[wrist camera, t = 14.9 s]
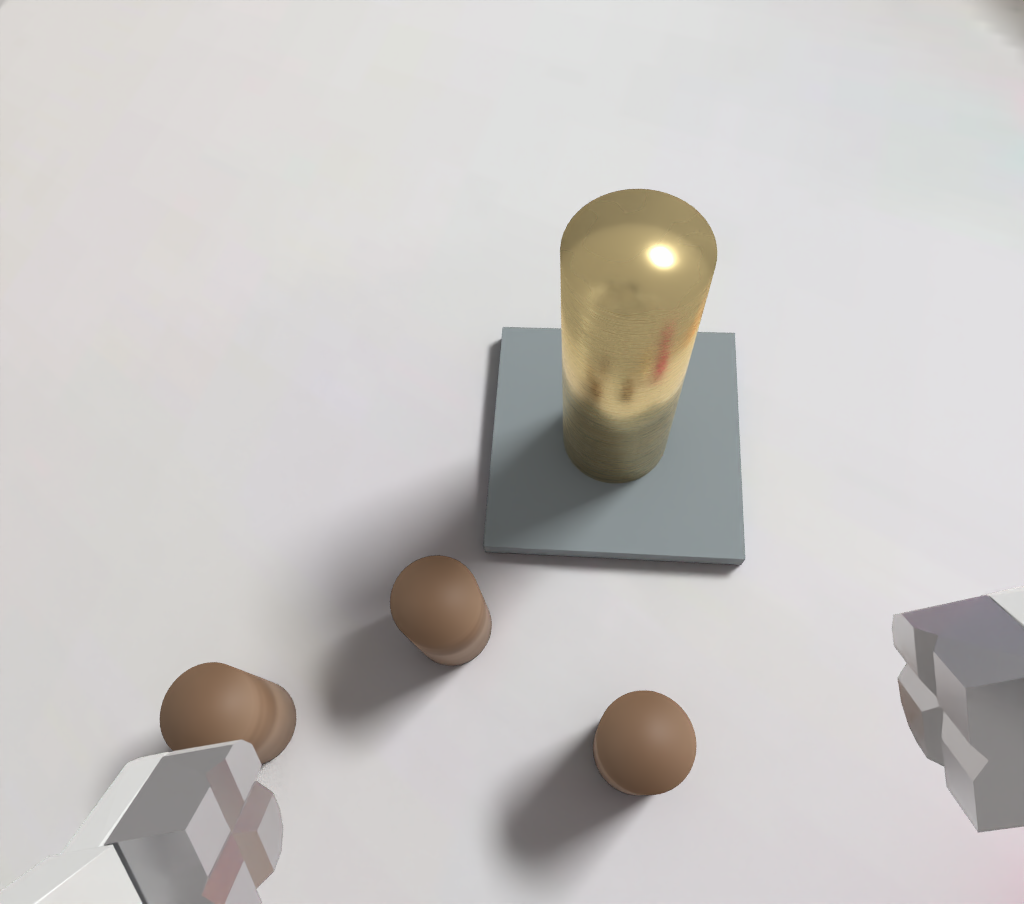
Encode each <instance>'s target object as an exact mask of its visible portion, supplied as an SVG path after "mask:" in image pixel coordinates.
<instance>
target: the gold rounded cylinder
mask: <svg viewBox="0 0 1024 904" xmlns="http://www.w3.org/2000/svg"><path fill="white" fill-rule="evenodd" d="M716 261H717V245H716V240H715V237H714V234H713V232H712V230H711V227H710V226H709V224H708V223H707V221H706V220H705V219H704V217H703V216H702V215H701V214H700V213H699V212H698V211H697V210H696V209H695V208H693V207H692V206H691V205H689V204H688V203H686V202H685V201H683V200H681V199H679V198H677V197H675V196H672V195H670V194H667V193H663V192H660V191H655V190H649V189H627V190H620V191H616V192H612V193H609V194H606V195H603V196H601V197H599V198H597V199H595V200H593V201H591V202H590V203H588V204H587V205H585V206H584V207H583V208H581V209H580V210H579V211H578V212H577V213H576V214H575V215H574V216H573V218H572V219H571V220H570V222H569V223H568V225H567V227H566V229H565V231H564V233H563V237H562V240H561V247H560V266H561V329H562V392H563V441H564V446H565V450H566V452H567V454H568V457H569V458H570V460H571V461H572V463H573V464H574V465H575V466H576V467H577V468H578V469H579V470H580V471H581V472H582V473H584V474H585V475H587V476H589V477H591V478H593V479H595V480H598V481H601V482H606V483H626V482H630V481H634V480H636V479H639V478H641V477H643V476H644V475H646V474H647V473H649V472H650V471H651V470H652V469H653V468H654V467H655V466H656V465H657V464H658V462H659V461H660V459H661V458H662V456H663V453H664V451H665V447H666V444H667V440H668V436H669V433H670V429H671V426H672V422H673V418H674V415H675V411H676V408H677V404H678V400H679V397H680V393H681V389H682V386H683V382H684V379H685V375H686V371H687V368H688V364H689V360H690V357H691V353H692V350H693V346H694V342H695V339H696V335H697V332H698V328H699V324H700V321H701V317H702V313H703V310H704V306H705V303H706V299H707V295H708V292H709V288H710V284H711V281H712V277H713V274H714V270H715V266H716Z"/></svg>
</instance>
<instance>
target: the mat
mask: <svg viewBox="0 0 1024 904" xmlns="http://www.w3.org/2000/svg"><path fill="white" fill-rule="evenodd" d="M483 547H484V550H485V552H497V553H517V554H536V555H556V556H576V557H595V558H615V559H635V560H654V561H674V562H694V563H713V564H733V565H741V564H742V563H743V562H744V560H745V544H744V522H743V501H742V479H741V458H740V436H739V414H738V393H737V371H736V350H735V333H716V332H697V335H696V339H695V342H694V346H693V350H692V353H691V357H690V360H689V364H688V368H687V371H686V375H685V379H684V382H683V386H682V389H681V393H680V397H679V400H678V404H677V408H676V411H675V415H674V418H673V422H672V426H671V429H670V433H669V436H668V440H667V444H666V447H665V451H664V453H663V456H662V458H661V459H660V461H659V462H658V464H657V465H656V466H655V467H654V468H653V469H652V470H651V471H650V472H649V473H647V474H646V475H644V476H643V477H641V478H639V479H636V480H634V481H630V482H626V483H606V482H601V481H598V480H595V479H593V478H591V477H589V476H587V475H585V474H584V473H582V472H581V471H580V470H579V469H578V468H577V467H576V466H575V465H574V464H573V463H572V461H571V460H570V458H569V457H568V454H567V452H566V450H565V446H564V441H563V392H562V329H558V328H519V327H503V329H502V341H501V352H500V363H499V374H498V386H497V397H496V408H495V419H494V430H493V442H492V453H491V464H490V475H489V486H488V498H487V509H486V520H485V531H484V543H483Z"/></svg>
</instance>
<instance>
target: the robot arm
mask: <svg viewBox="0 0 1024 904" xmlns="http://www.w3.org/2000/svg"><path fill="white" fill-rule="evenodd" d="M892 633H893V642H894V646H895V648H896V649H897V650H898V652H899V653H900V654H901V656H902V657H903V658H904V660H905V661H906V662H907V663H906V665H905V667H904V668H903V670H902V671H901V673H900V675H899V676H898V684H899V691H900V697H901V703H902V706H903V709H904V713H905V716H906V719H907V722H908V725H909V727H910V729H911V731H912V734H913V736H914V738H915V740H916V742H917V743H918V745H919V746H920V748H921V749H922V751H923V753H924V754H925V756H926V757H927V758H928V759H930V760H932V761H934V762H936V763H938V764H940V765H942V766H944V768H945V777H946V786H947V788H948V790H949V791H950V792H951V794H952V795H953V797H954V798H955V800H956V801H957V803H958V804H959V806H960V807H961V808H962V810H963V811H964V813H965V814H966V816H967V817H968V819H969V820H970V821H971V823H972V824H973V826H974V827H975V829H976V830H977V832H985V831H993V830H1000V829H1008V828H1015V827H1023V826H1024V586H1020V587H1016V588H1012V589H1007V590H1003V591H998V592H994V593H990V594H985V595H981V596H979V597H975V598H970V599H965V600H961V601H956V602H951V603H947V604H942V605H937V606H932V607H928V608H923V609H918V610H914V611H909V612H904V613H900V614H895V615H893V623H892ZM261 766H262V764H261V762H260V760H259V758H258V756H257V754H256V751H255V749H254V747H253V745H252V744H251V743H248V742H246V741H244V740H242V739H241V740H235V741H230V742H224V743H218V744H212V745H206V746H200V747H194V748H189V749H183V750H177V751H173V752H164V753H160V754H155V755H150V756H145V757H140V758H137V759H135V760H132V761H130V762H128V763H127V764H126V765H125V766H124V768H123V769H122V770H121V772H120V773H119V775H118V776H117V777H116V779H115V780H114V781H113V783H112V784H111V786H110V787H109V788H108V790H107V791H106V792H105V794H104V795H103V796H102V798H101V799H100V801H99V802H98V803H97V805H96V806H95V807H94V809H93V810H92V812H91V813H90V814H89V816H88V817H87V818H86V820H85V821H84V822H83V824H82V825H81V827H80V828H79V829H78V831H77V832H76V833H75V835H74V836H73V837H72V839H71V840H70V842H69V843H68V844H67V846H66V847H65V848H64V850H63V851H62V853H61V854H57V855H51V856H48V857H47V858H45V859H44V860H43V861H41V862H40V863H39V864H37V865H36V866H34V867H33V868H32V869H30V870H29V871H27V872H26V873H25V874H23V875H22V876H21V877H19V878H18V879H16V880H15V881H14V882H12V883H11V884H9V885H8V886H7V887H5V888H4V889H2V890H1V891H0V904H262V901H261V898H260V896H259V894H258V892H257V888H258V887H259V886H260V885H261V884H262V883H263V882H264V881H265V880H266V879H267V878H268V877H269V876H270V875H271V874H272V873H273V872H274V870H275V868H276V865H277V862H278V859H279V857H280V854H281V850H282V837H283V823H282V818H281V812H280V808H279V805H278V803H277V800H276V798H275V795H274V793H273V792H272V791H270V790H269V789H267V788H266V787H265V786H263V785H262V784H260V783H259V782H257V778H258V775H259V772H260V769H261Z"/></svg>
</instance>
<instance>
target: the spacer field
mask: <svg viewBox="0 0 1024 904" xmlns="http://www.w3.org/2000/svg"><path fill="white" fill-rule="evenodd" d="M390 609H391V614H392V617H393V619H394V621H395V623H396V625H397V627H398V628H399V629H400V630H401V632H402V633H403V634H404V635H405V636H406V637H407V638H408V639H409V640H410V641H411V642H412V643H413V644H415V645H416V646H417V647H418V648H419V649H420V650H421V651H422V652H423V653H424V654H425V655H426V656H427V657H428V658H429V659H431V660H432V661H434V662H436V663H439V664H442V665H448V666H455V665H461V664H464V663H466V662H469V661H471V660H472V659H474V658H475V657H476V656H478V655H479V654H480V653H481V652H482V650H483V649H484V648H485V646H486V644H487V643H488V640H489V638H490V634H491V627H492V622H491V616H490V612H489V610H488V607H487V605H486V603H485V600H484V598H483V596H482V593H481V591H480V589H479V587H478V584H477V582H476V580H475V578H474V576H473V574H472V573H471V572H470V570H469V569H468V568H467V567H466V566H465V565H464V564H462V563H461V562H459V561H457V560H456V559H453V558H450V557H447V556H440V555H439V556H428V557H424V558H421V559H419V560H416V561H415V562H413V563H411V564H410V565H409V566H407V567H406V568H405V569H404V570H403V571H402V572H401V573H400V575H399V576H398V578H397V579H396V581H395V583H394V585H393V588H392V591H391V596H390ZM295 725H296V710H295V706H294V703H293V700H292V698H291V697H290V695H289V694H288V692H287V691H286V690H285V689H284V688H282V687H281V686H279V685H278V684H275V683H273V682H270V681H268V680H265V679H263V678H260V677H257V676H255V675H252V674H250V673H247V672H245V671H242V670H239V669H237V668H234V667H232V666H229V665H226V664H223V663H217V662H210V663H204V664H200V665H197V666H195V667H192V668H191V669H189V670H187V671H186V672H184V673H183V674H182V675H180V676H179V677H178V678H177V679H176V680H175V681H174V683H173V684H172V685H171V687H170V688H169V690H168V691H167V693H166V695H165V697H164V700H163V703H162V706H161V711H160V727H161V732H162V735H163V738H164V740H165V741H166V743H167V745H168V746H169V747H170V748H171V749H172V750H173V751H177V750H183V749H189V748H194V747H200V746H206V745H212V744H218V743H224V742H230V741H235V740H241V739H242V740H244V741H246V742H248V743H251V744H252V745H253V747H254V749H255V751H256V754H257V756H258V758H259V760H260V762H261V764H263V763H266V762H268V761H270V760H272V759H274V758H275V757H276V756H278V755H279V754H280V753H281V752H282V751H283V750H284V749H285V748H286V746H287V745H288V743H289V742H290V740H291V738H292V736H293V733H294V730H295ZM593 754H594V760H595V763H596V766H597V768H598V770H599V772H600V774H601V775H602V777H603V778H604V779H605V780H606V781H607V782H608V783H609V784H610V785H611V786H612V787H614V788H615V789H617V790H618V791H621V792H623V793H626V794H630V795H656V794H661V793H665V792H667V791H669V790H672V789H673V788H675V787H676V786H678V785H679V784H680V783H681V782H682V781H683V780H684V779H685V778H686V777H687V775H688V773H689V772H690V770H691V768H692V766H693V763H694V760H695V755H696V737H695V732H694V729H693V726H692V724H691V721H690V719H689V718H688V716H687V714H686V713H685V712H684V710H683V709H682V708H681V707H680V706H679V705H678V704H677V703H676V702H674V701H673V700H672V699H670V698H668V697H667V696H665V695H662V694H660V693H657V692H653V691H634V692H630V693H627V694H625V695H623V696H621V697H619V698H618V699H616V700H615V701H614V702H613V703H612V704H611V705H610V706H609V707H608V708H607V710H606V711H605V712H604V714H603V716H602V718H601V720H600V723H599V725H598V728H597V730H596V733H595V736H594V741H593Z"/></svg>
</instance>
